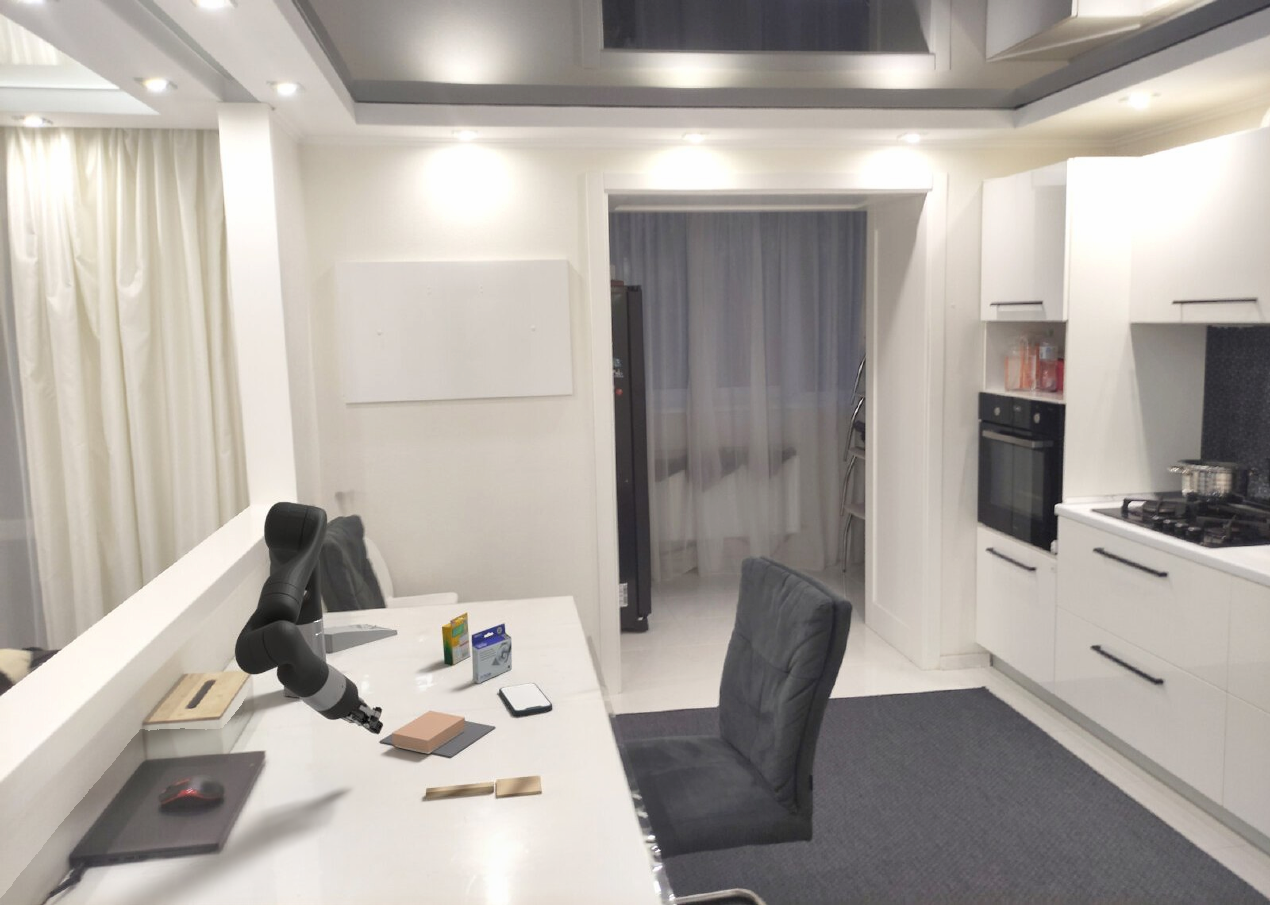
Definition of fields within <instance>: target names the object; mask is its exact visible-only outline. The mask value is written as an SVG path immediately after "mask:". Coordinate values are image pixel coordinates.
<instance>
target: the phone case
mask: <svg viewBox="0 0 1270 905" xmlns="http://www.w3.org/2000/svg"><path fill="white" fill-rule="evenodd" d="M498 693H499V695H500V697H501V698H502V700H503V701H504V703H505V704H506V706H507V707H508V709H509V710H510V712H511V713H512V715H513V716H514V717H517V718H519V717H524V716H532V715H537V714H542V713H548V712H550V711H553V703H552V702H551V701H550V700H549V699H548V697H547V696H546V695H545V693H544V692H542V690H541V689H540V688H539V687H538V685H537V684H536V683H534V682H527V683H523V684H515V685H510V686H505V687H504V686H503V687H500V688H499V689H498Z"/></svg>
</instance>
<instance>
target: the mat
mask: <svg viewBox="0 0 1270 905" xmlns="http://www.w3.org/2000/svg"><path fill="white" fill-rule="evenodd" d="M495 729H496V726H493V725H489V724H488V725H487V724H484V723H480V722H479V723H477V722H474V721H473V722H472V721H468V720H465V729H464V730H463V732H462V733H460V734H459V735H457V736H456V737H454V738H453V739H451V740H450V741H448V742H447V743H445V744H443V745H442V746H440V747H439V748H437V749H436V750H434V751H433V752H431V753H430V754H432V755H436V756H441V757H446V758H453V757H455V756H456V755H457V754H459V753H461V752H462V751H464V750H465V749H467V748H469V746H471V745H473V744H475V743H476V742H477V741H479V740H480V739H482V738H483V737H484V736H486V735H487V734H489V733H490V732H492V731H494V730H495ZM379 743H380V744H386V745H391V746H395V745H393V743H392V733H390V734H389V735H387V736H386V737H384V738H382V739H380V740H379Z"/></svg>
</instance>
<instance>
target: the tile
mask: <svg viewBox="0 0 1270 905" xmlns="http://www.w3.org/2000/svg"><path fill="white" fill-rule="evenodd" d="M465 721H466V717H464V716H460V715H456V714H455V715H454V714H449V713H444V712H438V711H432V710H429V711H427V712H426V713H423V714H422V715H420V716H418V717H417V718H414V719H413V720H411V721H410V722H408V723H407V724H405V725H403V726H401V727H400V728H398V729H396V730H394V731H393V732H391V734H392V743H393V745H392V746H394V745H395V748H400V749H405V750H409V751H412V752H418V753H423V754H428V755H429V754H431V752H433V751H434V750H436V749H437V748H439V747H440V746H442V745H443V744H445V743H447V742H448V741H450V740H451V739H453V738H454V737H456V736H457V735H459V734H460V733H462V732H463V730H464V729H465Z"/></svg>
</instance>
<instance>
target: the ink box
mask: <svg viewBox="0 0 1270 905" xmlns="http://www.w3.org/2000/svg"><path fill="white" fill-rule="evenodd" d="M488 634H491V635H488ZM486 635H488V636H486ZM485 636H486V637H485ZM512 649H513V648H512V637H511V636H510V635H509V634H508V633H507V632H506V624H505V622H503V623H501V624H498V625H495V626H492V627H490V628H486V629H484V630H482V631H481V630H480V631H478V632H476V633H473V634H471V658H472V660H471V661H472V681H473V683H476V684H480V683H482V682H485V681H487V680H490V679H492V678H494V677H497V676H499V675H502V674H505V673H507V672H509V671H511V670H512V668H513V666H512V665H513V664H512V662H513V660H512V659H513V658H512V657H513V656H512V655H513V654H512V653H513V652H512Z"/></svg>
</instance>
